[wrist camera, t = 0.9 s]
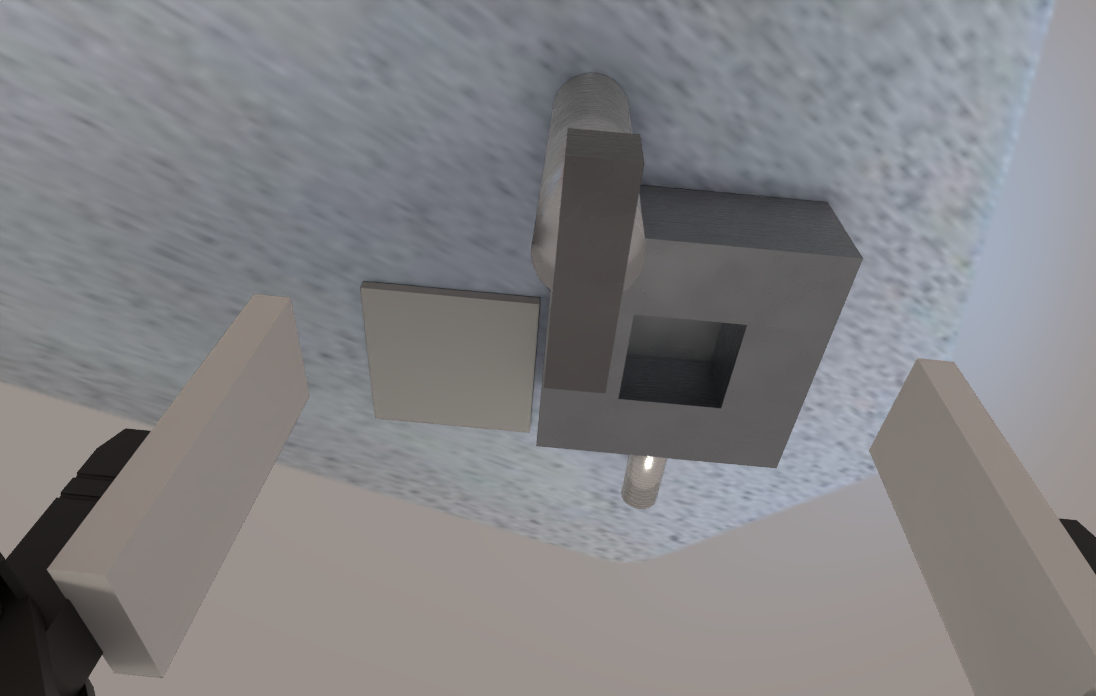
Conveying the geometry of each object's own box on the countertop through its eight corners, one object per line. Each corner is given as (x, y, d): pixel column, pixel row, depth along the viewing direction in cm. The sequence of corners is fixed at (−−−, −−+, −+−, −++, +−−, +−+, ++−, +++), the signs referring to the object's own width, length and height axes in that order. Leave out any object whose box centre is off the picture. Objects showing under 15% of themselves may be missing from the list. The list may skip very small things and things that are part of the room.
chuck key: (617, 193, 30) (629, 395, 20) (546, 186, 30) (519, 385, 20) (641, 26, 26) (675, 165, 15) (560, 18, 26) (534, 152, 15)
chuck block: (537, 444, 41) (530, 510, 37) (560, 177, 30) (555, 229, 26) (735, 462, 41) (750, 530, 37) (827, 202, 30) (863, 258, 26)
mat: (377, 411, 40) (375, 418, 39) (363, 281, 34) (360, 287, 34) (530, 425, 40) (529, 432, 39) (540, 297, 34) (539, 304, 34)
